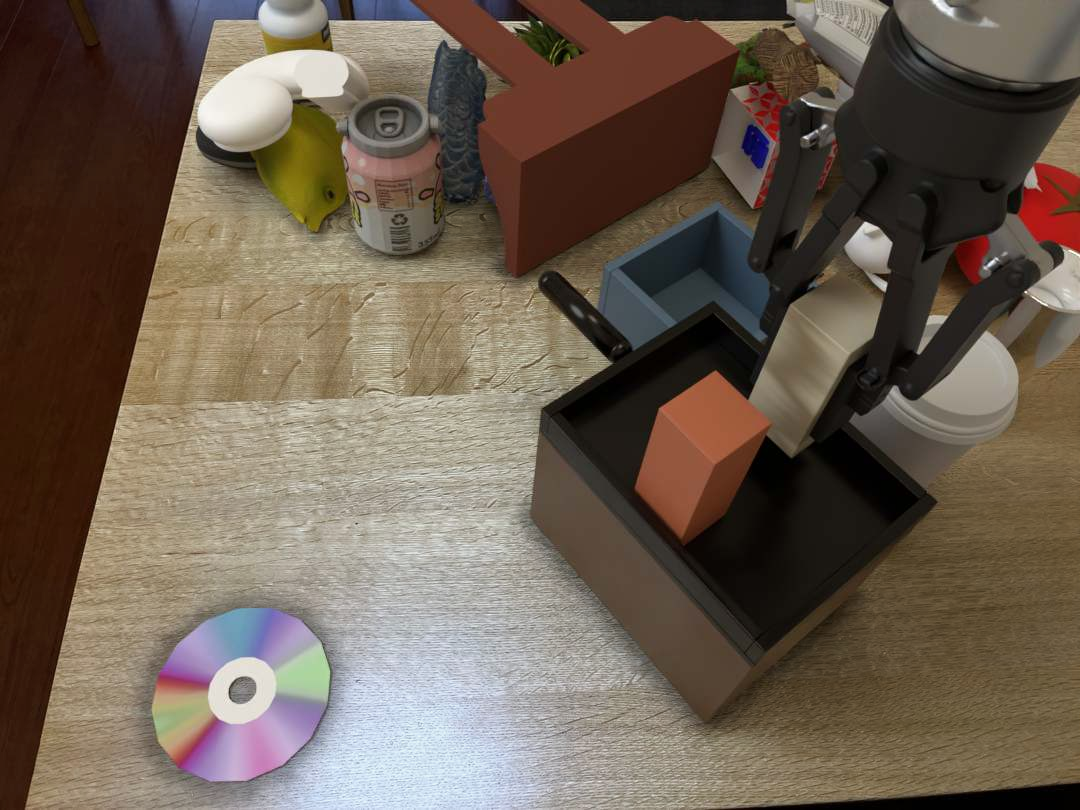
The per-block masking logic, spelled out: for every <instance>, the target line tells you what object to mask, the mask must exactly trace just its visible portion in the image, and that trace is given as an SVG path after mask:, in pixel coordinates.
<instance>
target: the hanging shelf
mask: <svg viewBox="0 0 1080 810" xmlns="http://www.w3.org/2000/svg"><path fill="white" fill-rule="evenodd" d="M408 1H409V2H410V3H411V4H413V5H414V6H415V7H416V8H417V9H418V10H419V11H421V12H422V13H423V14H424V15H425V16H427V17H428V18H429V19H430V20H431V21H432V22H434V23H435V24H436V25H437V26H439V28H441V29H442V30H443V31H444V32H445V33H446V34H448V35H449V36H450V37H451V38H453V39H454V40H455V41H456V42H457V43H458V44H460V46H461V45H462V46H463V47H465V48H466V49H467V50H468V51H469V52H470V53H471V54H472V55H474V56H475V57H476V58H477V59H478V61H480V62H481V63H482V64H483V65H485V67H487V68H488V69H489V70H490V71H492V72H493V73H494V74H495V75H497V76H498V78H499V79H501V80H504V81H505V82H506V83H507V85H508V87H509V86H511V87H512V88H510V87H509V88H508V89H506V90H504V91H502V92H499V93H496V94H495V95H493V96H491V97H489V98H486V100H485V101H484V104H483V114H484V117H485V119H486V120H485V121H483V122H481V123H479V124H478V145H479V154H480V159H481V163H482V166H483V170H484V173H485V175H486V178H487V181H488V183H489V186H490V189H491V191H492V194H493V197H494V199H495V202H496V205H495V206H496V208H497V212H498V215H499V219H500V223H501V228H502V229H501V230H502V233H503V234H502V235H503V242H504V265H503V267H504V268H505V269H506V270H507V271H508V272H509V273H510V274H511V275H512V276H513V277H514V278H519V277H520V276H522V275H524V274H526V273H528V272H529V271H531V270H533V269H534V268H536V267H538V266H539V265H542V264H543V263H544V262H547V261H548V260H550V259H552V258H554V257H555V256H557V255H559V254H561V253H562V252H564V251H566V250H567V249H569V248H571V247H572V246H574V245H576V244H577V243H579V242H582V241H583V240H585V239H587V238H589V237H590V236H591V235H593V234H596V233H597V232H598V231H600V230H602V229H605V228H606V227H607V226H609V225H611V224H612V223H614V222H615V221H617V220H619V219H621V218H623V217H624V216H626V215H628V214H630V213H632V212H633V211H635V210H637V209H638V208H640V207H642V206H644V205H645V204H647V203H649V202H650V201H653V200H654V199H656V198H658V197H659V196H660V195H662V194H664V193H666V192H668V191H670V190H671V189H673V188H675V187H677V186H678V185H680V184H681V183H684V182H686V181H687V180H689V179H690V178H692V177H694V176H696V175H697V174H699V173H701V172H702V171H704V170H706V169H708V168H709V166H710V162H711V159H712V157H711V156H712V153H713V149H714V146H715V142H716V138H717V135H718V131H719V128H720V124H721V120H722V117H723V113H724V110H725V106H726V102H727V99H728V95H729V90H730V86H731V83H732V79H733V75H734V72H735V68H736V64H737V61H738V57H739V54H740V49H739V48H738V47H736V46H735V44H733V43H732V42H730V41H729V40H728V39H727V38H725V37H723V36H722V35H720V34H719V33H717V31H715V30H713V29H712V28H710V27H709V26H708V25H706V24H705V23H703V22H702V21H701V20H699V19H698V18H695V19H693V20H690V21H686V20H682V19H679V18H677V17H674V16H669V15H664V16H661V17H659V18H656V19H655V20H652V21H650V22H648V23H646V24H644V25H641V26H639V27H637V28H635V29H633V30H631V31H629V32H627V33H624V32H623V31H622V30H621V29H619V28H617V27H616V26H615V25H614V24H612V23H611V22H609V21H608V20H607V19H606V18H604V17H602V16H601V15H600V14H599V13H597V12H596V11H595V10H594V9H592V8H591V7H589V5H586V4H585V3H584V2H582V1H581V0H516V1H517V2H518V3H519V4H521V5H522V6H523V7H524V8H526V9H527V10H528V11H529V12H531V13H532V14H534V15H535V16H536V17H537V16H538V17H539V18H540V19H541V20H543V21H544V22H545V23H546V24H548V25H549V26H550V27H552V28H553V29H554V30H555V31H557V32H558V33H559V34H561V35H562V36H563V37H564V38H566V39H567V40H568V41H570V42H571V43H572V44H573V45H575V46H576V47H577V48H579V49H580V50H581V51H582V52H584V54H582V55H580V56H578V57H576V58H574V59H571V60H569V61H567V62H565V63H563V64H561V65H559V66H557V67H554V66H552V65H551V64H550V63H549V62H547V61H546V60H545V59H544V58H542V57H541V56H540V55H539V54H537V53H536V52H535V51H534V50H533V49H531V48H530V47H529V46H528V45H526V44H525V43H524V42H523V41H521V40H520V39H519V38H518V37H516V36H517V35H515V34H513V33H511V32H512V31H510V29H508V28H507V27H506V26H504V24H502V23H501V22H499V21H498V20H497V19H495V18H494V17H493V16H492V15H491V14H489V13H488V12H487V11H485V10H484V9H483V8H482V7H481V6H480V5H478V4H477V3H476V2H475V1H473V0H408ZM538 17H537V18H538ZM539 18H538V19H539ZM506 83H505V84H506Z"/></svg>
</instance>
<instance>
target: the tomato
mask: <svg viewBox="0 0 1080 810" xmlns="http://www.w3.org/2000/svg"><path fill="white" fill-rule="evenodd" d="M1034 170H1035V174H1036V177H1037V185H1038V186H1039V188H1040V189H1041V191H1042V192H1041V191H1040V190H1039V189H1037V188H1029V189H1028V188H1026V187H1025V186H1024V187H1023V202H1022V206H1021V209H1020V211H1019V212H1018V214H1017V215H1018V217H1019V218H1020V219H1021V221H1022V222H1023V223H1024V225H1025V226H1026V228H1027V229H1028V230H1029V232H1030V233H1031V234H1032V236H1033V237H1034V239H1035V240H1036V241H1037V242H1041V241H1045V240H1050V241H1054V242H1056V243H1058V244H1059V245H1062V246H1065V247H1068V248H1071V249H1073V250H1075V251H1077V252H1079V253H1080V176H1078V175H1076V174H1075V173H1072V172H1071V171H1069V170H1066V169H1064V168H1061V167H1058V166H1055V165H1052V164H1050V163H1045V162H1036V163H1035V164H1034ZM988 249H989V242H988V239H987V237H986V236H982V237H978V238H975V239H971V240H968V241H964V242H960V243H958V244H957V246H956V248H955V250H954V253H955V257H956V260H957V263H958V265H959V267H960V269H961V272H962V273H963V274H964V276H965V277H966V279H967V280H968V281H969V282H970V283H971V284H972V285H973V286H974V285H975V284H977V283H978V282H980V281H981V280H982V278H981V277H980V276H979V274H978V269H979V268H980V267H981V260H982V257H983V256H984V255H985V254H986V253H987V251H988Z"/></svg>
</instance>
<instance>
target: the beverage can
mask: <svg viewBox="0 0 1080 810" xmlns="http://www.w3.org/2000/svg"><path fill="white" fill-rule="evenodd" d="M336 123H337V126H336V128H337V131H338V132H339V133H340V136H344V138H343V142H342V146H341V148H342V154H343V160H344V166H345V172H346V178H347V184H348V190H349V194H348V196H349V200H350V208H351V213H352V219H353V225H354V229H355V232H356V233H357V235H358V236H359V238H360V239H361V241H362V242H363V243H364V244H365V245H366V246H368V247H370V248H371V249H372V250H375V251H377V252H381V253H383V254H387V255H393V256H405V255H412V254H415V253H417V252H420V251H423V250H425V249H426V248H428V247H429V246H431V245H432V244H433V243H434V242H436V241H437V239H438V238H439V236H440V235H441V234H442V231H443V229H444V225H445V220H446V216H445V200H444V192H443V171H442V151H441V142H440V139H439V136H438V134H439V130H440V129H441V127H442V124H441V121H440V120H439V119H438V117H437V116H435V115H433V114H429V112H428V108H427V107H425V105H424V104H423V103H422V102H420V101H418V100H416V99H415V98H414V97H410V96H407V95H404V94H400V93H399V94H397V93H382V94H374V95H372V96H368V98H366V99H364V100H362V101H360V102H359V103H357V104H356V105H355V106H354V107H353V108H352V109H351V111H350V112H348V115H347V116H345V117H343V118H339V119H338V122H336Z"/></svg>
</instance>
